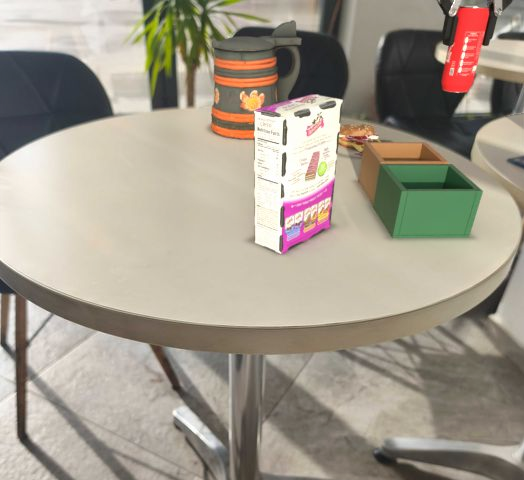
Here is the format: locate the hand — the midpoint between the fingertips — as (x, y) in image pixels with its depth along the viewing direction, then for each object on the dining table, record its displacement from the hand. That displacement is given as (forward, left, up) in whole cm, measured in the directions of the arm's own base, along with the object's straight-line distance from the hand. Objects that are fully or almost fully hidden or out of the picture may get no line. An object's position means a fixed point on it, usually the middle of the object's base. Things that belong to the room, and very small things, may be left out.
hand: (465, 43), depth 82 cm
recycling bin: (+13, +28, -19) cm, 36 cm away
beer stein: (+33, -22, -19) cm, 44 cm away
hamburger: (+13, -8, -19) cm, 25 cm away
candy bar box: (+31, +31, -19) cm, 48 cm away
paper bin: (+13, +17, -19) cm, 29 cm away
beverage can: (0, 0, -7) cm, 7 cm away
